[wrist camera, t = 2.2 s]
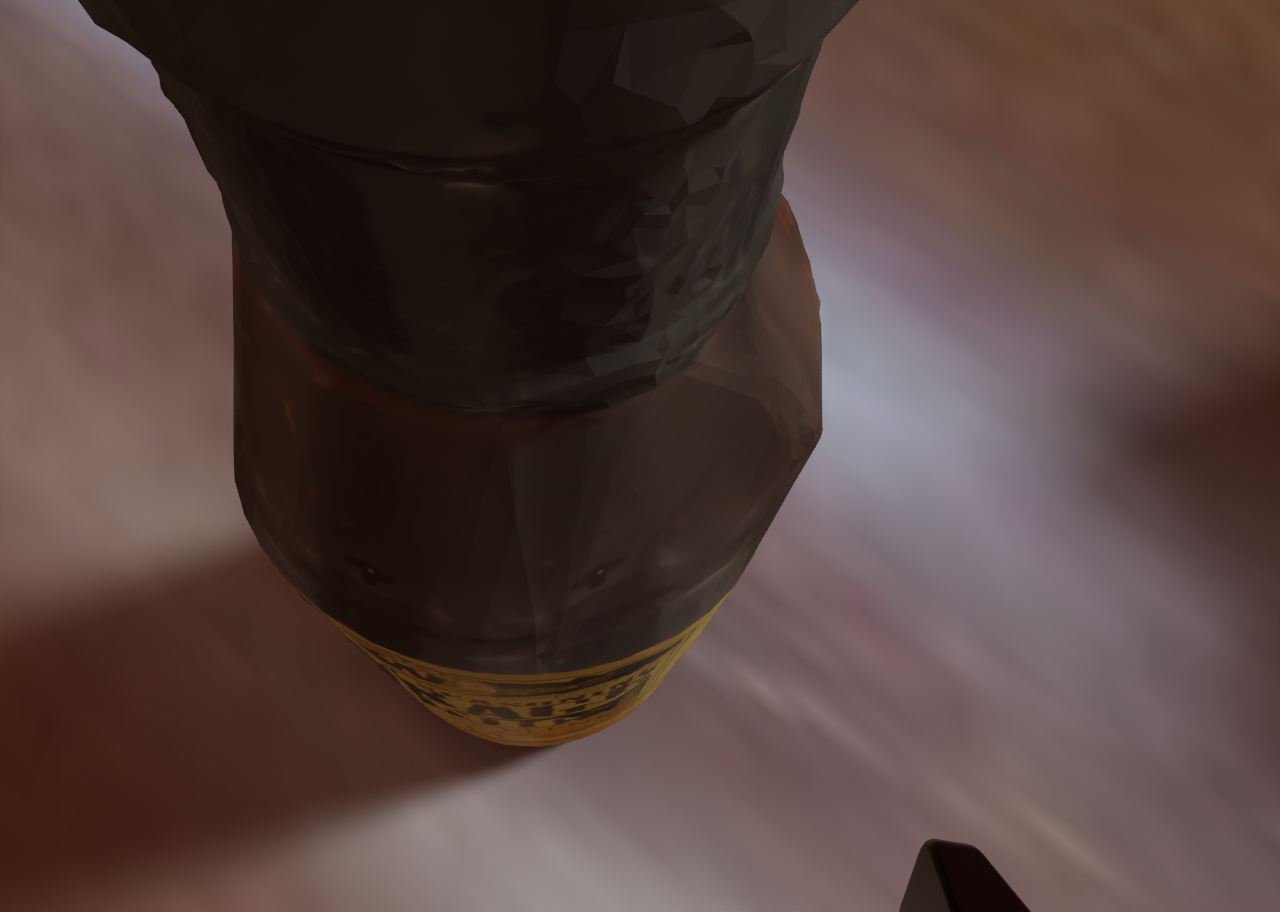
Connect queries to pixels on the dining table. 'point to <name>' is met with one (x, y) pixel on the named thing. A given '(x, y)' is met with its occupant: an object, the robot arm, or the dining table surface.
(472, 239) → the sauce bottle
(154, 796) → the dining table surface
